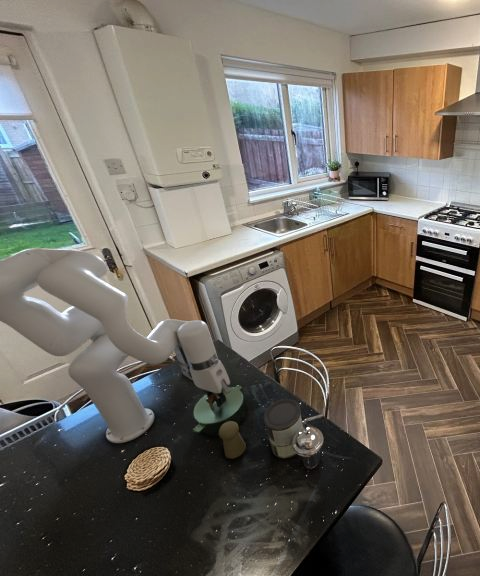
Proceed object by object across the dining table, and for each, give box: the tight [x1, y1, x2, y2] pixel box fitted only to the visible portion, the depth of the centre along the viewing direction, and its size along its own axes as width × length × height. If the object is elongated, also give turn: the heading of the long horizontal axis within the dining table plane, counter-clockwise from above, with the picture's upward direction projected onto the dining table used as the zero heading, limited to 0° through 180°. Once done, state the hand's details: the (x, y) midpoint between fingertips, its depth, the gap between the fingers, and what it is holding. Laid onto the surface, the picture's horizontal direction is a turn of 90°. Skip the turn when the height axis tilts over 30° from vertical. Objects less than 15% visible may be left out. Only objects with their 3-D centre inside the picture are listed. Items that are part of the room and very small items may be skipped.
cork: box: [218, 421, 247, 459], centre depth 92 cm, size 6×6×11 cm
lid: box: [193, 386, 244, 424], centre depth 100 cm, size 15×15×6 cm
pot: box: [192, 384, 246, 436], centre depth 103 cm, size 14×19×6 cm
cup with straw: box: [292, 413, 325, 469], centre depth 87 cm, size 8×9×20 cm
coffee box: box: [174, 344, 193, 381], centre depth 120 cm, size 9×6×16 cm
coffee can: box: [263, 398, 304, 459], centre depth 93 cm, size 10×10×14 cm
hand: (218, 402), depth 101 cm, fingers closed
